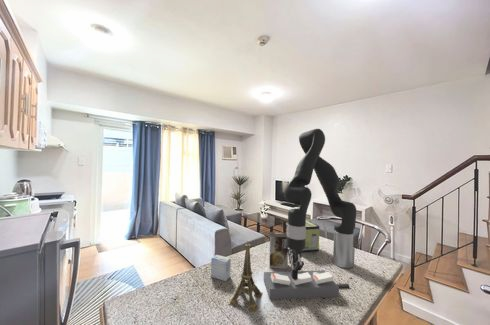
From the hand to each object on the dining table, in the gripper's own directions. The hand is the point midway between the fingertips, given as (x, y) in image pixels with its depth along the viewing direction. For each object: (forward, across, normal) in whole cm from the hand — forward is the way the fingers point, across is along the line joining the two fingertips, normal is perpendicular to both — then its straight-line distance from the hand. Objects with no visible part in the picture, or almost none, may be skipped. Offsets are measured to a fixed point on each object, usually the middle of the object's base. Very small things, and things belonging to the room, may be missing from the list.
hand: (294, 277), depth 82 cm
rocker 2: (0, 0, -3) cm, 3 cm away
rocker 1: (0, 0, +6) cm, 6 cm away
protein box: (+6, +41, -20) cm, 46 cm away
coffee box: (+6, +22, +1) cm, 23 cm away
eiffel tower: (+7, -2, +20) cm, 21 cm away
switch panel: (+6, +3, -7) cm, 10 cm away
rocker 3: (0, 0, -12) cm, 12 cm away
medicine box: (+7, +13, +30) cm, 33 cm away
